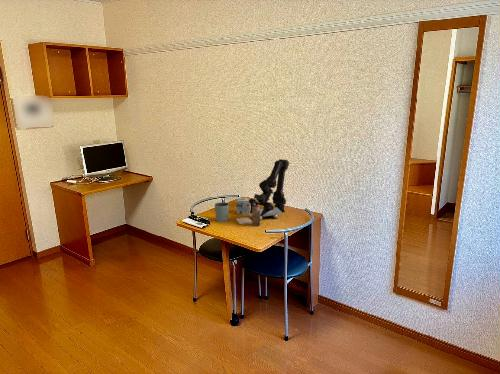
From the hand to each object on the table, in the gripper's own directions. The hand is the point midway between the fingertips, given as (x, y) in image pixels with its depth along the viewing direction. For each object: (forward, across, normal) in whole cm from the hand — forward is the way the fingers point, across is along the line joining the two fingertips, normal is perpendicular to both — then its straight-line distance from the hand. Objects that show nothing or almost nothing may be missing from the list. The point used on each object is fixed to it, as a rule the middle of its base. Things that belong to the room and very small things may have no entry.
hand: (255, 214), depth 260 cm
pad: (+5, -11, +6) cm, 14 cm away
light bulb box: (-5, -24, +16) cm, 29 cm away
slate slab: (-6, -4, +17) cm, 19 cm away
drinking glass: (+11, -25, 0) cm, 27 cm away
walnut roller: (+5, 0, +6) cm, 8 cm away
